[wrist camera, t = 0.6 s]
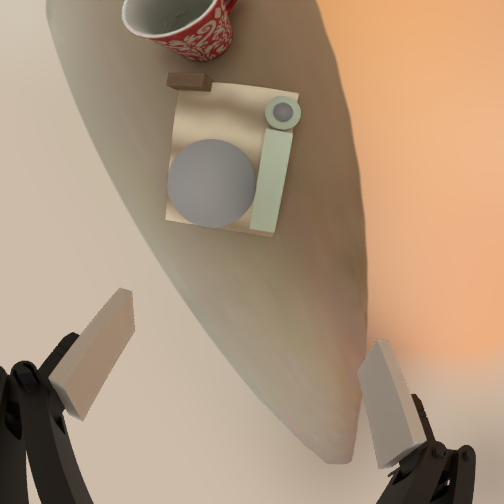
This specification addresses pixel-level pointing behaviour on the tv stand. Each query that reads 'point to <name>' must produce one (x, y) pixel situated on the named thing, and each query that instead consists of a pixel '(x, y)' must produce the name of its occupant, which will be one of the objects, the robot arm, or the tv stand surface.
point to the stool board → (221, 125)
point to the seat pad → (211, 183)
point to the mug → (182, 25)
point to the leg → (274, 162)
